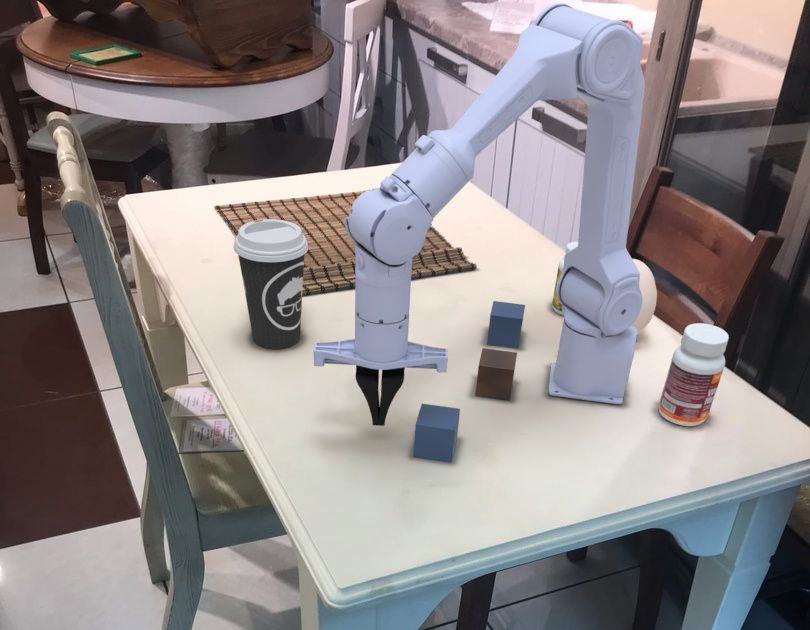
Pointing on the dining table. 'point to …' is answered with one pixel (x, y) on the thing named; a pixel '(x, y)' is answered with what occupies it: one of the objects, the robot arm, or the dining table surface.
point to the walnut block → (495, 374)
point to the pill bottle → (694, 375)
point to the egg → (645, 296)
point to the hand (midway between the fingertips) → (378, 420)
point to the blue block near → (436, 432)
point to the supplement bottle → (556, 303)
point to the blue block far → (505, 324)
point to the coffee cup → (272, 279)
